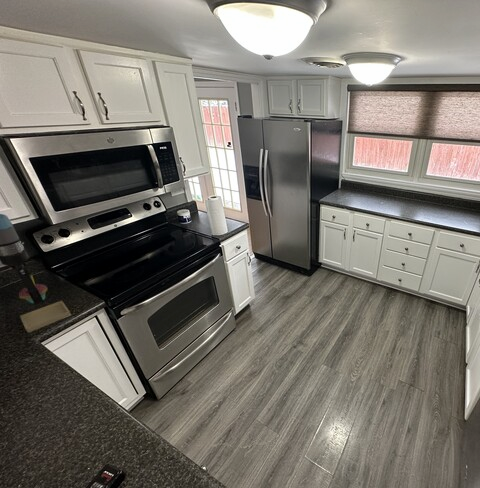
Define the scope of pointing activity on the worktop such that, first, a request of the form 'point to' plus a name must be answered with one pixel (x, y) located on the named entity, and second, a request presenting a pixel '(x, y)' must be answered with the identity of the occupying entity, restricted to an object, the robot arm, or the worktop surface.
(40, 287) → the cupcake
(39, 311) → the tray
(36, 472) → the worktop surface
